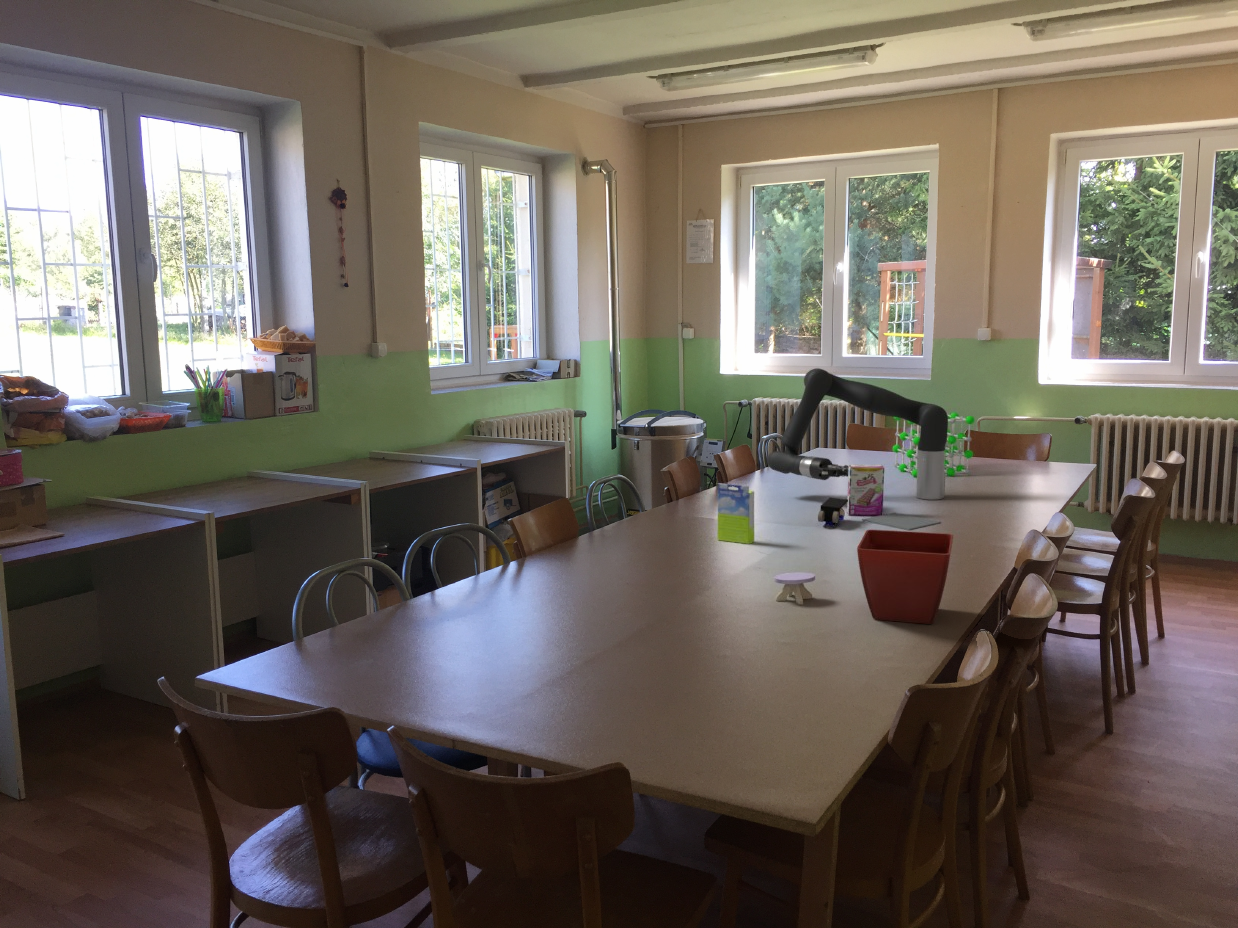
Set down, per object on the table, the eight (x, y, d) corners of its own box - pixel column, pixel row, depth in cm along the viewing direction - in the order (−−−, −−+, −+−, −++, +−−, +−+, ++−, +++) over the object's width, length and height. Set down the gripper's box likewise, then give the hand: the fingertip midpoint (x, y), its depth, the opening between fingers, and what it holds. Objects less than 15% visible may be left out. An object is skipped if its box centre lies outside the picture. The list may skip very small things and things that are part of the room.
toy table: (810, 593, 234) (811, 570, 233) (819, 604, 225) (820, 580, 224) (770, 594, 234) (770, 571, 233) (777, 605, 225) (777, 581, 224)
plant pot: (854, 622, 212) (856, 547, 209) (865, 598, 229) (866, 528, 227) (947, 631, 205) (950, 553, 202) (950, 605, 223) (953, 533, 220)
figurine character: (838, 534, 300) (849, 519, 313) (838, 510, 298) (849, 496, 311) (816, 532, 303) (828, 517, 316) (816, 509, 301) (827, 495, 314)
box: (755, 541, 286) (755, 483, 284) (749, 544, 283) (749, 486, 280) (722, 537, 292) (722, 481, 289) (716, 540, 288) (716, 483, 286)
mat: (894, 513, 321) (894, 512, 321) (940, 522, 307) (940, 521, 307) (862, 520, 312) (862, 519, 312) (908, 530, 298) (908, 528, 298)
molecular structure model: (890, 468, 411) (892, 411, 408) (947, 466, 414) (949, 410, 410) (913, 478, 388) (915, 417, 384) (973, 476, 390) (976, 416, 386)
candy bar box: (848, 516, 319) (849, 466, 317) (846, 512, 324) (847, 464, 322) (883, 516, 318) (884, 466, 316) (880, 513, 323) (882, 464, 320)
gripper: (802, 459, 332) (842, 465, 318) (829, 455, 340) (868, 460, 326) (802, 480, 333) (841, 487, 319) (828, 476, 341) (868, 482, 327)
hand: (855, 474), depth 323 cm, fingers closed
